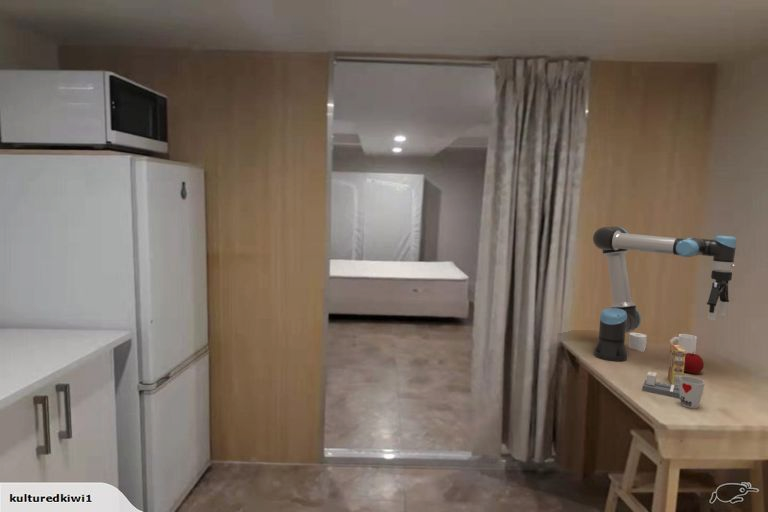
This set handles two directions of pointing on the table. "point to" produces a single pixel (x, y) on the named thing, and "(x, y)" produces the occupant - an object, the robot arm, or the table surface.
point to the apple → (693, 363)
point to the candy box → (676, 364)
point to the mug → (686, 342)
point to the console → (662, 389)
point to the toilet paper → (637, 341)
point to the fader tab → (651, 378)
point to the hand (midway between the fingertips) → (716, 317)
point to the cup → (690, 391)
